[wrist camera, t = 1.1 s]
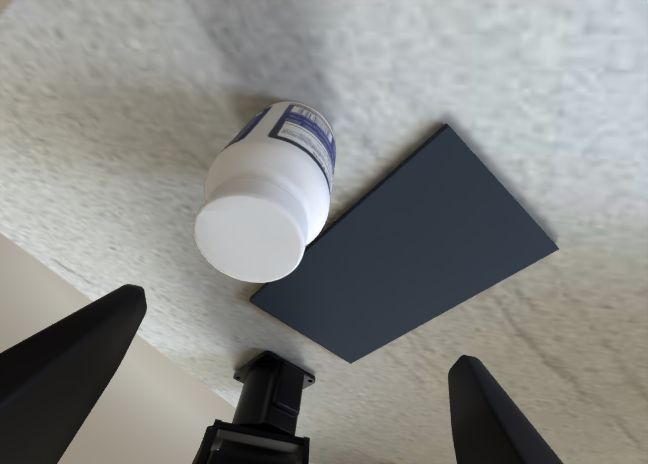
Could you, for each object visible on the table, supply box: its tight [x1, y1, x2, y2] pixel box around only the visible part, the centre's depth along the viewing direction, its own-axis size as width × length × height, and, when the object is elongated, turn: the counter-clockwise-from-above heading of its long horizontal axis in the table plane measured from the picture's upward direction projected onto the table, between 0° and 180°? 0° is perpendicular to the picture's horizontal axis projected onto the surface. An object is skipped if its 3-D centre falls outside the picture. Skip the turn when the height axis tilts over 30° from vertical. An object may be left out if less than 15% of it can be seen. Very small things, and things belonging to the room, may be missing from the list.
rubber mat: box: [249, 124, 559, 364], centre depth 24 cm, size 20×12×1 cm, turn 139°
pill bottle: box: [194, 101, 336, 283], centre depth 15 cm, size 5×5×10 cm
